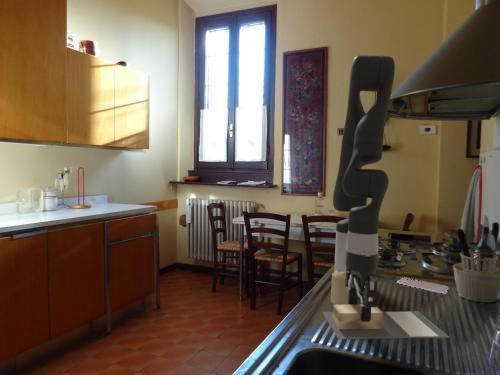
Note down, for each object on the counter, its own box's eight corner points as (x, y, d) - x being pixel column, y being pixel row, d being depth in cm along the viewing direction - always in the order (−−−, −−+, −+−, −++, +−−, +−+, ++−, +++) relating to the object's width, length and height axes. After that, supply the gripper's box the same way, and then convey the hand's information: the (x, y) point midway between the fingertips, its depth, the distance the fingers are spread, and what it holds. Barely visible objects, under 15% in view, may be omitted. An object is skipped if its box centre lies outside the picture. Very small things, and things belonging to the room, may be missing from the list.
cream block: (338, 329, 86) (339, 313, 85) (332, 319, 90) (333, 304, 90) (382, 328, 86) (383, 313, 86) (373, 319, 91) (374, 304, 91)
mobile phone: (446, 292, 110) (396, 281, 119) (446, 295, 111) (396, 284, 119) (449, 285, 117) (401, 275, 125) (448, 288, 117) (401, 278, 125)
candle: (327, 303, 101) (328, 270, 101) (337, 298, 105) (338, 266, 104) (344, 309, 98) (345, 275, 97) (353, 304, 101) (355, 270, 101)
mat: (322, 313, 95) (322, 311, 95) (418, 312, 97) (418, 310, 97) (338, 340, 81) (338, 338, 81) (450, 339, 83) (450, 337, 83)
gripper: (337, 242, 93) (335, 302, 94) (357, 257, 79) (354, 327, 80) (365, 243, 94) (362, 301, 95) (390, 257, 80) (386, 326, 81)
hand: (358, 313), depth 88 cm, fingers open, 8 cm apart
